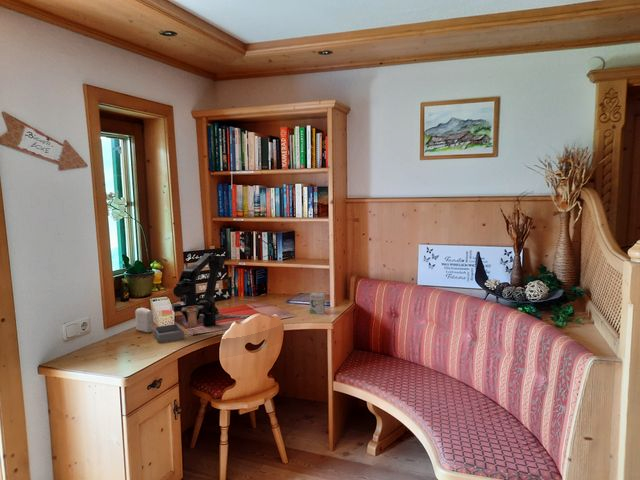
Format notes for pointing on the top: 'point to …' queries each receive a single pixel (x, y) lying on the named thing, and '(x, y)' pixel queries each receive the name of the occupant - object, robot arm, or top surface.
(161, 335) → the bin
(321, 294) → the ink box
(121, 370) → the top surface
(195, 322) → the terracotta cylinder
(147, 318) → the photo printer
